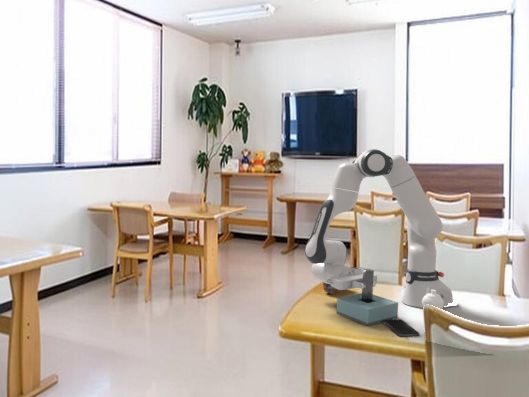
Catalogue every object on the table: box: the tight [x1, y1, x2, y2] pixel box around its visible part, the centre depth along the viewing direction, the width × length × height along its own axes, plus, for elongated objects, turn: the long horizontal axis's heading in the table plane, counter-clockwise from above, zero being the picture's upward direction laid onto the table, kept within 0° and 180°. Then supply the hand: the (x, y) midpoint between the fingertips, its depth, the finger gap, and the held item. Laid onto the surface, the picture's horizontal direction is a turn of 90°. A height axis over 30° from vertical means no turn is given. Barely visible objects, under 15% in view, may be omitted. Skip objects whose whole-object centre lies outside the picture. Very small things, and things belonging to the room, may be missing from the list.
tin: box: [322, 282, 345, 295], centre depth 222 cm, size 15×3×8 cm, turn 132°
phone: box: [382, 319, 420, 338], centre depth 176 cm, size 8×1×15 cm
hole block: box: [336, 292, 399, 327], centre depth 189 cm, size 16×16×6 cm
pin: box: [361, 268, 375, 303], centre depth 188 cm, size 4×4×15 cm
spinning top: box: [422, 290, 444, 309], centre depth 184 cm, size 8×8×12 cm
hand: (369, 285), depth 188 cm, fingers closed on pin, 4 cm apart
